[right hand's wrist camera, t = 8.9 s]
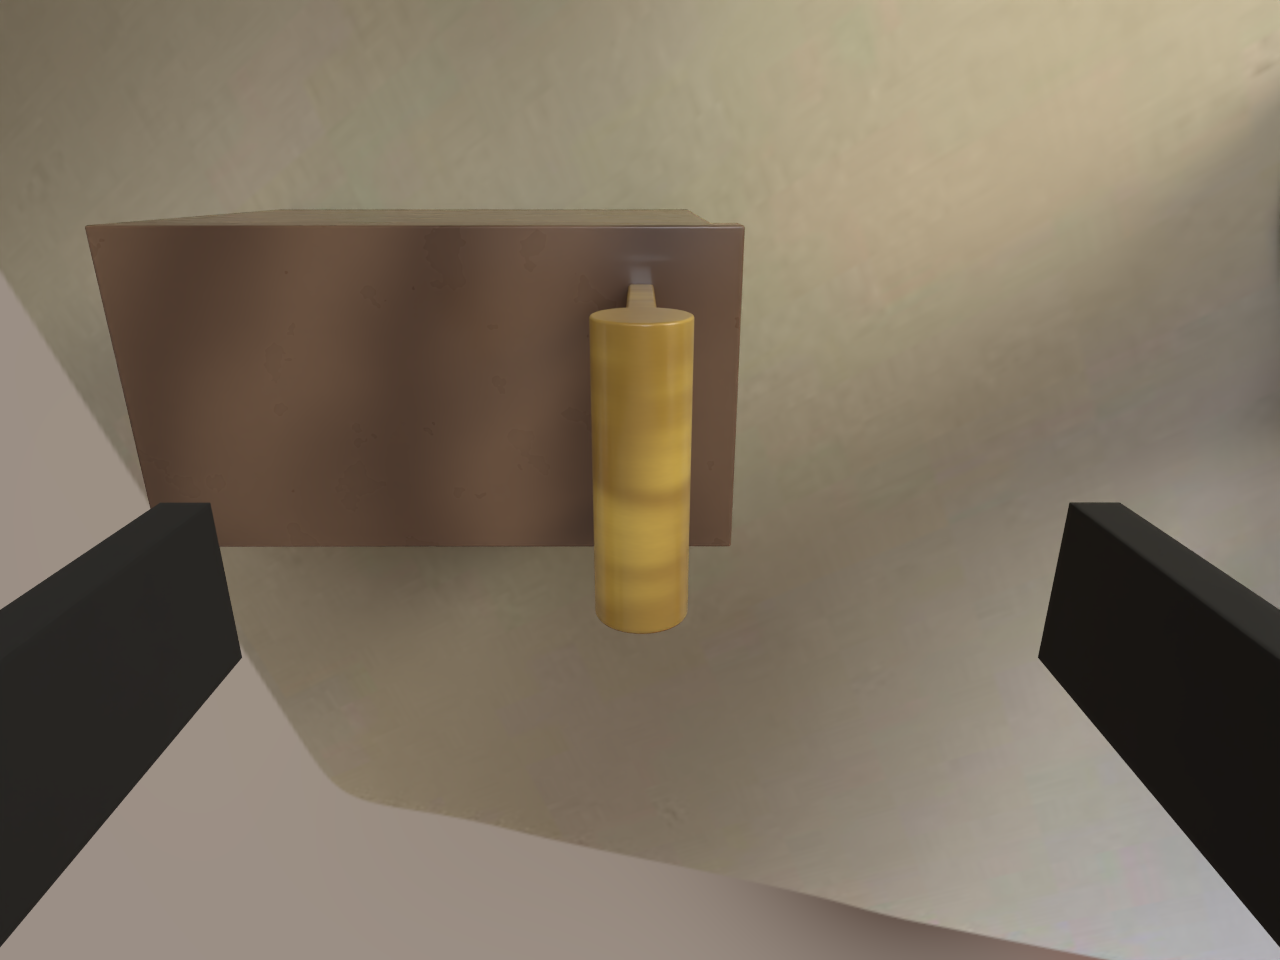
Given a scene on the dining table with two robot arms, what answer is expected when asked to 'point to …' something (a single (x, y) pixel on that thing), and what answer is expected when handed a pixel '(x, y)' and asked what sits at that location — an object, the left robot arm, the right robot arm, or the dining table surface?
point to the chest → (445, 216)
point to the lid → (440, 386)
